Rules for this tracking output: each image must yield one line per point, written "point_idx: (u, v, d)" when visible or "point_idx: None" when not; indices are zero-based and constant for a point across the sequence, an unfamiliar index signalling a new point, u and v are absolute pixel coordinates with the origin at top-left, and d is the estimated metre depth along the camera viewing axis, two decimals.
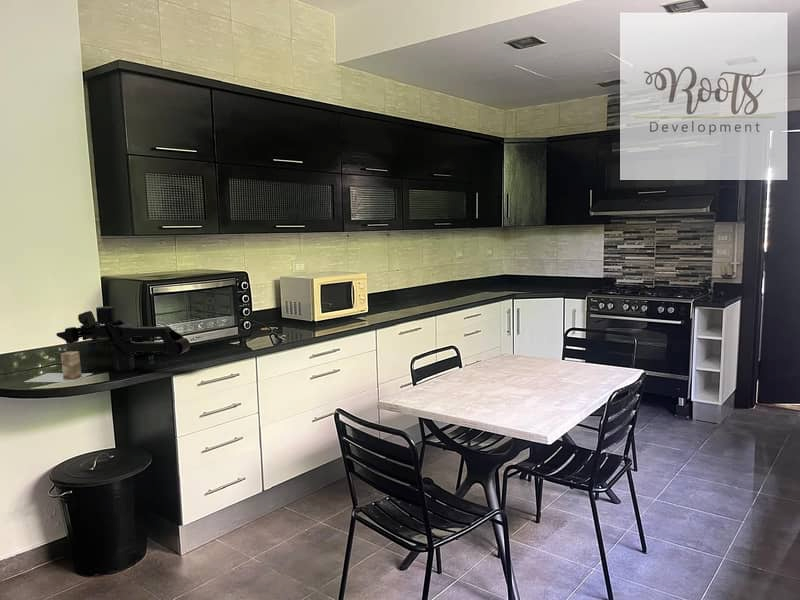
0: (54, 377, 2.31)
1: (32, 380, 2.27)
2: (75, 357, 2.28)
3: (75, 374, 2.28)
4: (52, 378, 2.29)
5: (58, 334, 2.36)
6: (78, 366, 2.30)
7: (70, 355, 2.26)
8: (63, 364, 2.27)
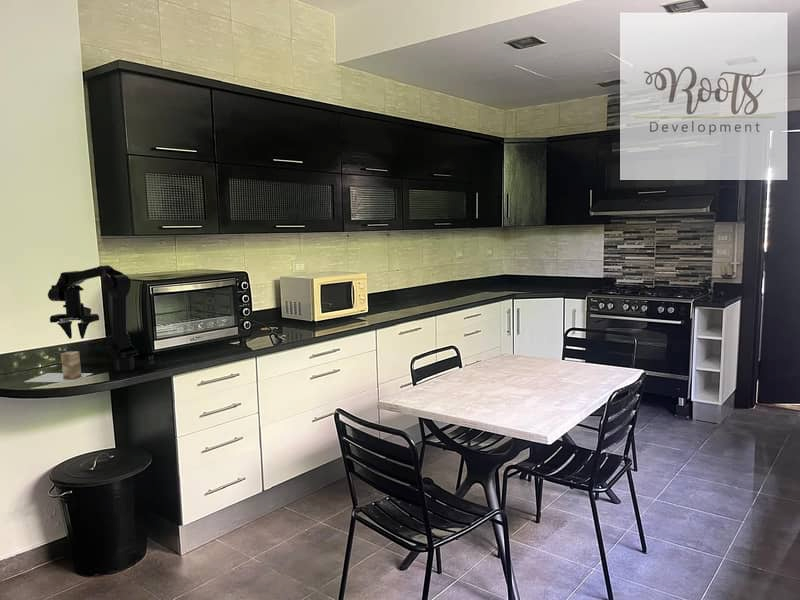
0: (54, 377, 2.31)
1: (32, 380, 2.27)
2: (75, 357, 2.28)
3: (75, 374, 2.28)
4: (52, 378, 2.29)
5: None
6: (78, 366, 2.30)
7: (70, 355, 2.26)
8: (63, 364, 2.27)
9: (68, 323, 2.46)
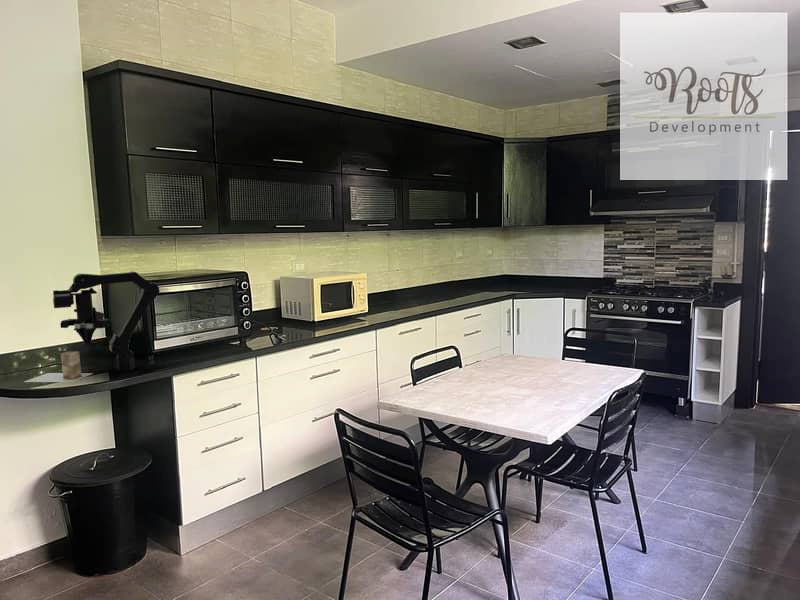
0: (54, 377, 2.31)
1: (32, 380, 2.27)
2: (75, 357, 2.28)
3: (75, 374, 2.28)
4: (52, 378, 2.29)
5: None
6: (78, 366, 2.30)
7: (70, 355, 2.26)
8: (63, 364, 2.27)
9: None
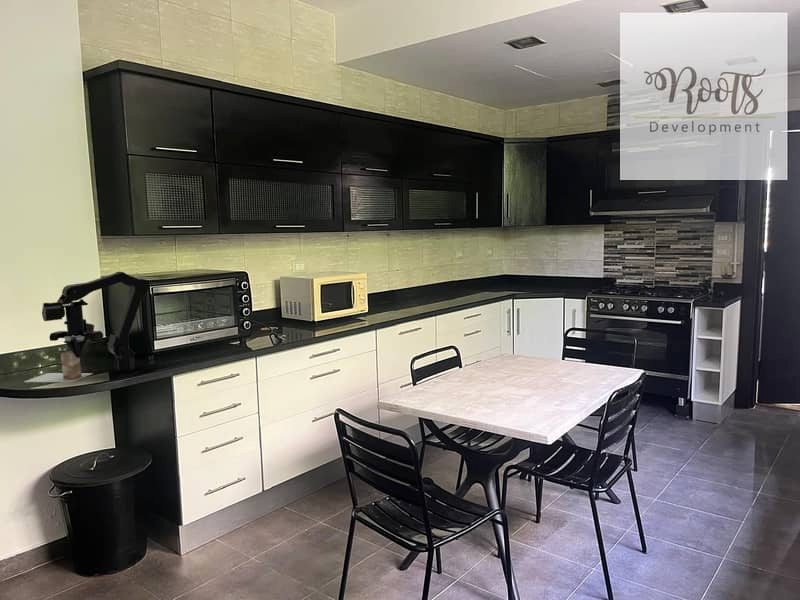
0: (54, 377, 2.31)
1: (32, 380, 2.27)
2: (75, 357, 2.28)
3: (75, 374, 2.28)
4: (52, 378, 2.29)
5: None
6: (78, 366, 2.30)
7: (70, 355, 2.26)
8: (63, 364, 2.27)
9: (75, 341, 2.27)
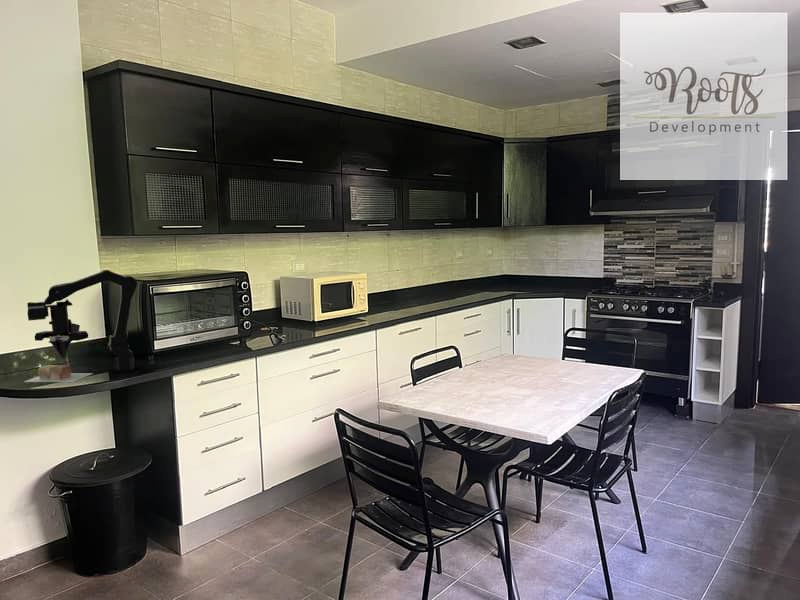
0: None
1: (32, 380, 2.27)
2: (46, 366, 2.30)
3: (60, 367, 2.28)
4: None
5: None
6: (58, 366, 2.31)
7: (40, 369, 2.28)
8: (49, 377, 2.28)
9: (60, 341, 2.28)
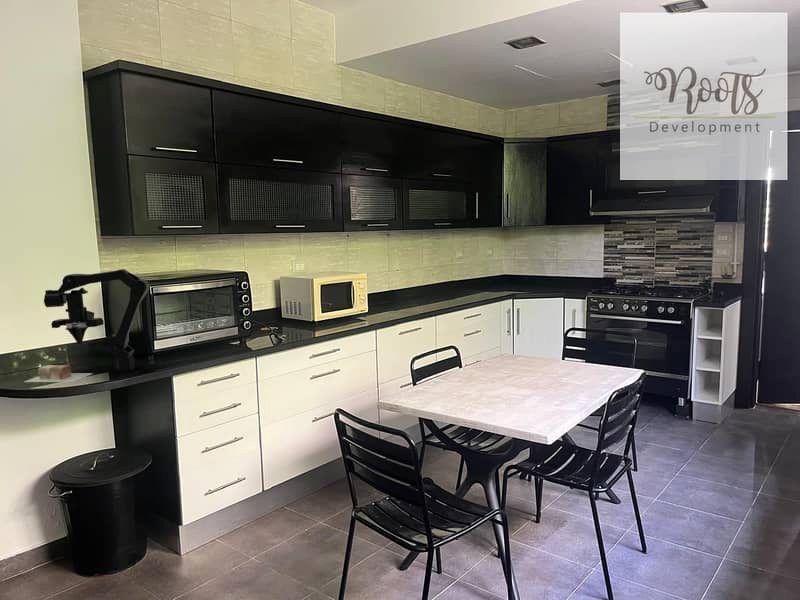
0: None
1: (32, 380, 2.27)
2: (46, 366, 2.30)
3: (60, 367, 2.28)
4: None
5: None
6: (58, 366, 2.31)
7: (40, 369, 2.28)
8: (49, 377, 2.28)
9: (77, 328, 2.35)
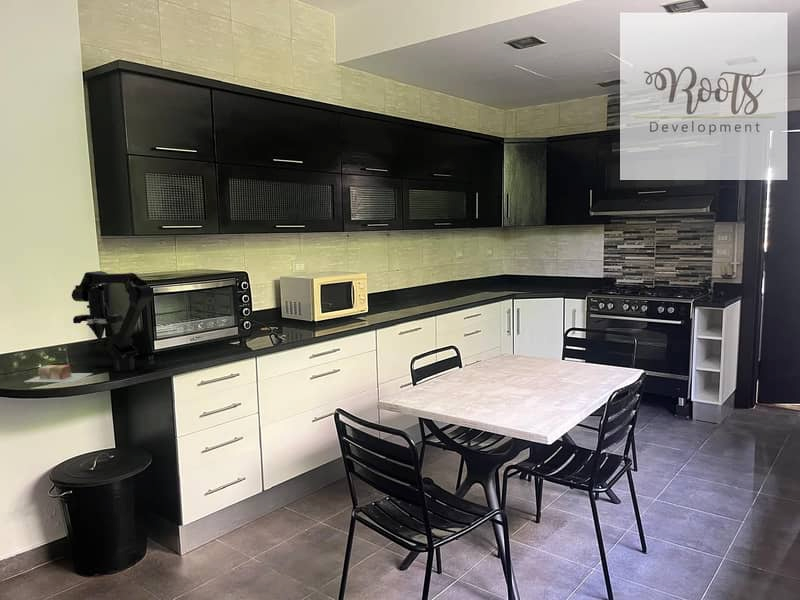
0: None
1: (32, 380, 2.27)
2: (46, 366, 2.30)
3: (60, 367, 2.28)
4: None
5: None
6: (58, 366, 2.31)
7: (40, 369, 2.28)
8: (49, 377, 2.28)
9: (97, 324, 2.43)
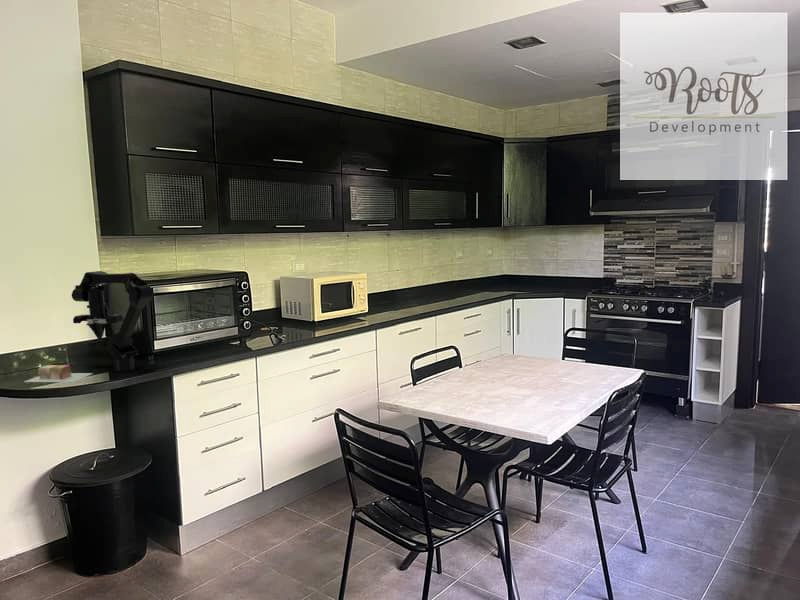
0: None
1: (32, 380, 2.27)
2: (46, 366, 2.30)
3: (60, 367, 2.28)
4: None
5: None
6: (58, 366, 2.31)
7: (40, 369, 2.28)
8: (49, 377, 2.28)
9: (97, 324, 2.43)
